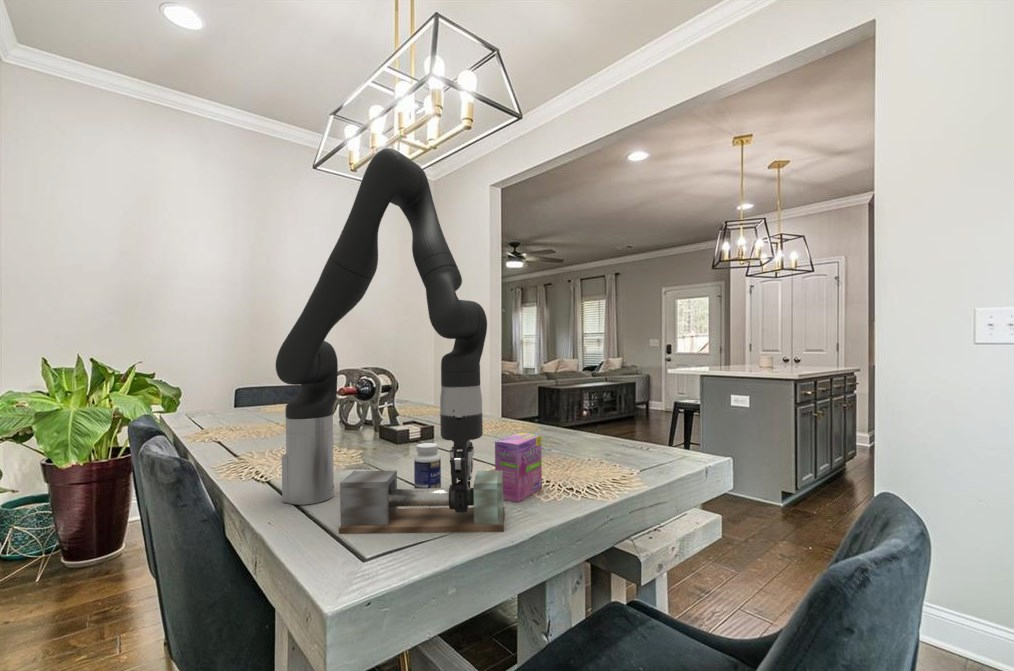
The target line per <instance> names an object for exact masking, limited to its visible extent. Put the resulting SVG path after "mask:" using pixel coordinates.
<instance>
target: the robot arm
mask: <svg viewBox="0 0 1014 671" xmlns="http://www.w3.org/2000/svg"><path fill="white" fill-rule="evenodd" d="M390 204H392V205H393V206H397V207H399V208H400V210H401V211H402V213H403V215H404V216H405V218H406V220H407V221H408V223H409V226H410V229H411V236H412V240H411V242H412V244H411V249H412V250H411V251H412V258H413V261H414V265H415V267H416V269H417V272H418V274H419V277H420V279H421V281H422V284H423V286H424V288H425V295H426V302H427V303H426V305H427V312H428V318H429V321H430V324H431V327H433V329H434V330H435V332H436V333H437V335H438V336H440V337H441V338H444V339H448V340H451V339H452V340H454V344H453V348H452V350H451V351H450V352H448V353H446V354H444V355H443V356H442V358H441V362H440V384H441V385H440V397H439V409H440V410H439V411H440V412H439V416H440V419H439V420H440V422H439V423H440V437H441V438H442V439H443V440H445V441H452V442H453V446H451V449H449V465H450V477H451V479H450V480H451V481H450V482H451V484H450V485H451V488H452V490H453V491H454V493H455V512H457V513H463V512H467V510H468V508H469V505H468V488H471V480H472V478H473V476H472V474H473V470H474V469H473V468H474V454H475V449H474V448H475V447H474V444H473V442H472V441H474V440H478V439H480V438H481V437H483V432H484V428H483V396H482V389H481V388H482V386H481V360H482V355H483V352H484V346H485V342H486V338H487V337H486V336H487V331H488V330H487V329H488V320H487V319H488V318H487V314H486V312H485V310H484V308H483V306H482V305H481V304H480V303H479V302H476V301H473V300H466V299H459V297H458V296H457V293H456V291H458V290H459V289H460V288H461V286H462V283H463V279H462V274H461V272H460V269H459V267H458V265H457V263H456V261H455V259H454V256H453V254H452V251H451V249H450V247H449V245H448V243H447V240H446V237H445V235H444V233H443V230H442V227H441V223H440V220H439V217H438V214H437V210H436V207H435V203H434V200H433V195H432V190H431V187H430V183H429V180H428V177H427V174H426V172H425V171H424V169H423V168H422V167H421V166H420V165H419V164H417V163H416V162H415V161H413V160H412V159H410V158H409V157H407V156H406V155H404V154H403V153H401V152H400V151H398V150H396V149H394V148H392V147H386V148H382V149H381V150H379V151H378V152H376V154H374V156H372V158H371V160H370V162H369V163H368V165H367V166H366V169H365V172H364V174H363V177H362V180H361V182H360V184H359V188H358V190H357V193H356V196H355V199H354V202H353V205H352V207H351V210H350V212H349V215H348V216H347V220H346V222H345V223H344V225H343V228H342V231H341V233H340V235H339V237H338V239H337V241H336V243H335V245H334V247H333V249H332V251H331V252H330V254H329V256H328V258H327V261H326V262H325V264H324V267H323V269H322V271H321V273H320V276H319V279H318V281H317V282H316V284H315V287H314V289H313V290H312V293H311V295H310V296H309V298H308V300H307V302H306V304H305V306H304V308H303V309H302V312H301V313H300V315H299V317H298V318H297V320H296V322H295V323H294V325H293V326H292V328H291V330H290V331H289V333H288V335H286V337H285V339H284V341H283V343H282V344H281V346H280V348H279V350H278V352H277V356H276V358H275V371H276V374H277V377H278V379H279V380H280V381H282V382H283V383H284V384H287V385H292V386H299V385H300V389H299V392H298V394H297V395H296V396H295V397H294V398H293V399H292V400H290V401H289V402H288V403H286V405H285V454H283V455H282V456H281V493H282V494H281V503H287V504H291V505H300V506H301V505H311V504H317V503H321V502H325V501H328V500H330V499H331V498H333V496H334V495H335V481H334V480H335V476H334V475H335V474H334V472H335V471H334V468H335V466H334V415H333V414H334V406H335V403H336V401H337V396H338V395H337V394H338V374H339V373H338V371H339V370H338V369H339V368H338V356H337V353H336V350H335V348H334V347H333V346H332V344H331V343H329V342H328V341H325V340H326V338H327V336H328V335H329V333H330V332H331V330H332V329H333V328H334V327H335V325H336V324H338V323H339V322H340V320H342V319H343V318H344V317H345V316H347V314H348V313H349V312H351V311H352V310H353V309H354V308H355V306H357V304H359V303H360V302H361V300H362V299H363V298H364V296H365V294H366V292H367V290H368V288H369V287H370V284H371V283H372V280H373V279H374V277H375V275H376V272H377V270H378V263H379V229H380V224H381V223H382V219H383V217H384V215H385V212H386V211H387V208H388V206H389V205H390Z"/></svg>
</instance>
